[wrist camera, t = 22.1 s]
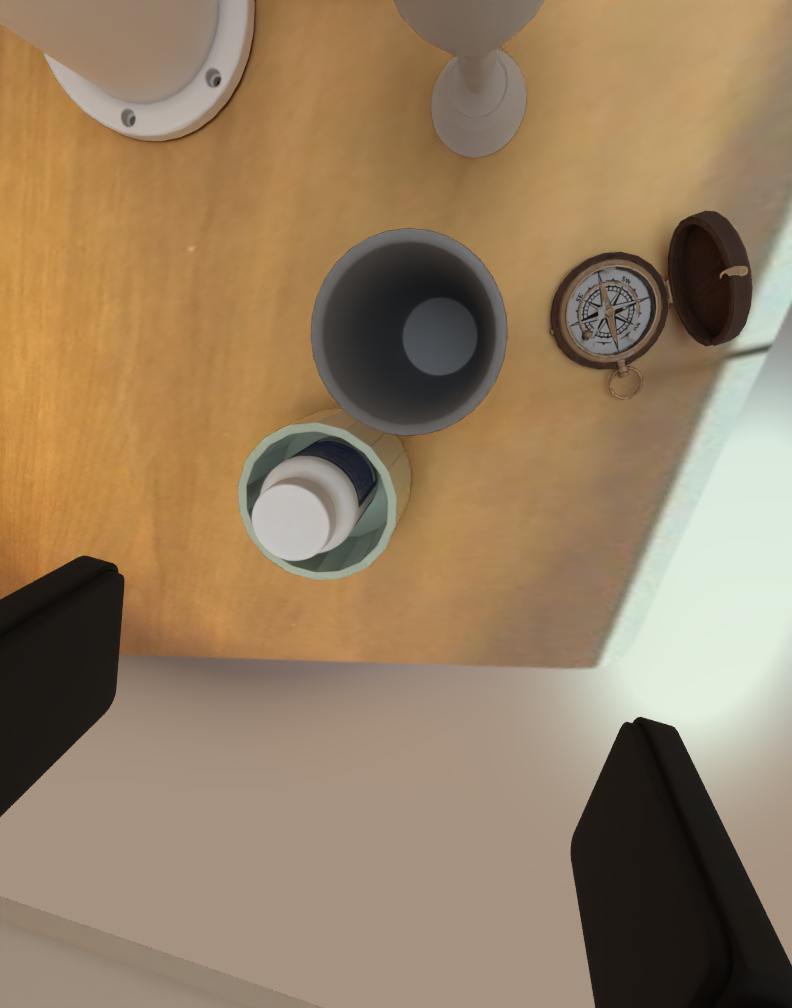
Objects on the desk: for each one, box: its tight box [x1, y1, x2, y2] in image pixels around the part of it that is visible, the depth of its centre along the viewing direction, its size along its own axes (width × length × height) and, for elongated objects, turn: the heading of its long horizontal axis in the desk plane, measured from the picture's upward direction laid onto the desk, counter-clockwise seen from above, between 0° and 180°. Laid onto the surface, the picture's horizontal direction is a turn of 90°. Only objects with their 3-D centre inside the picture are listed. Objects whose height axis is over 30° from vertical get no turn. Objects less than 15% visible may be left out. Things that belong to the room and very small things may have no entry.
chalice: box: [394, 0, 544, 157], centre depth 21 cm, size 7×7×18 cm
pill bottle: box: [252, 436, 379, 561], centre depth 31 cm, size 5×5×10 cm
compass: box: [550, 211, 752, 400], centre depth 28 cm, size 8×8×7 cm
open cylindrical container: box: [238, 408, 411, 580], centre depth 33 cm, size 9×9×6 cm
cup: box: [311, 228, 507, 436], centre depth 26 cm, size 7×7×15 cm
